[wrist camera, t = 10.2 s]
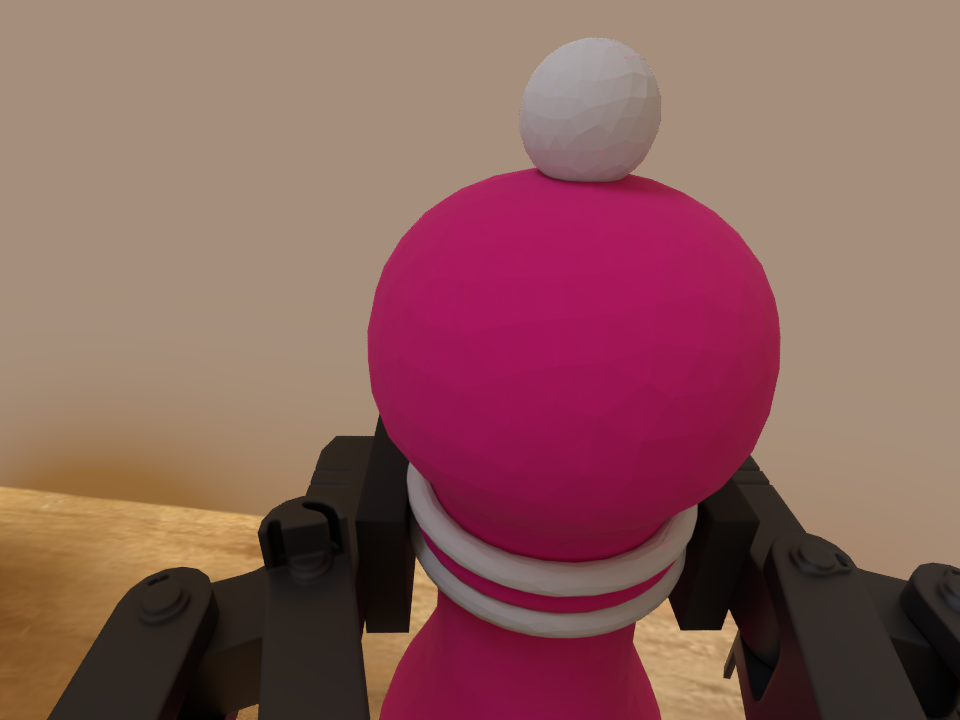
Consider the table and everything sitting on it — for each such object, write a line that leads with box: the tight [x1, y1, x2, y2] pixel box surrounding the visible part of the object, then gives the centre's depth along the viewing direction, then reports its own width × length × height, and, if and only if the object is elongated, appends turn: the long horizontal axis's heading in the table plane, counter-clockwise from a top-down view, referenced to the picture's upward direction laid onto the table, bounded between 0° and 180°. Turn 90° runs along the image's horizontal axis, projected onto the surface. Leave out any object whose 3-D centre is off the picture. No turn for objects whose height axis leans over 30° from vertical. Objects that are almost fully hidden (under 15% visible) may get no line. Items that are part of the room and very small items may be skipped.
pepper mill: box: [368, 38, 780, 720], centre depth 11 cm, size 7×7×20 cm
